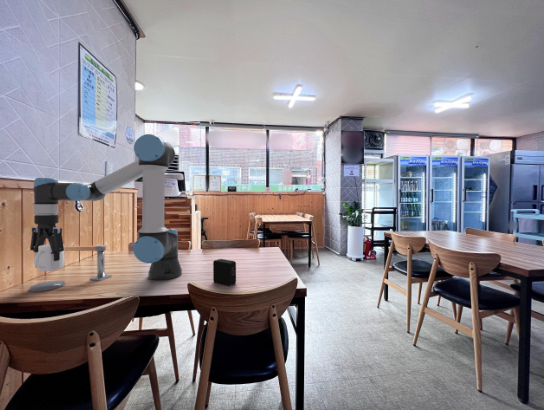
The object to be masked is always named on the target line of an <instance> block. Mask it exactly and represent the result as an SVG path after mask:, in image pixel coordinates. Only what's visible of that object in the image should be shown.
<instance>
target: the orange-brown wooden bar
mask: <svg viewBox="0 0 544 410" xmlns="http://www.w3.org/2000/svg"><path fill="white" fill-rule="evenodd" d="M106 246H107V245H69V246H68V245H64V252H92V251H93V252H94V251H95V252H97V251H104V252H105V251H106V250H107V249H106V248H107V247H106Z"/></svg>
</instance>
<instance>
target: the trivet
mask: <svg viewBox="0 0 544 410" xmlns="http://www.w3.org/2000/svg"><path fill="white" fill-rule="evenodd" d="M65 284H66V282H65V280H50V281H44V282H40V283H36V284H32V286H30V287H29V292H32V293H40V292H41V291H42V292H48V290H49V291H52V290H57V289H60V288H62V287H64V286H65Z"/></svg>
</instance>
